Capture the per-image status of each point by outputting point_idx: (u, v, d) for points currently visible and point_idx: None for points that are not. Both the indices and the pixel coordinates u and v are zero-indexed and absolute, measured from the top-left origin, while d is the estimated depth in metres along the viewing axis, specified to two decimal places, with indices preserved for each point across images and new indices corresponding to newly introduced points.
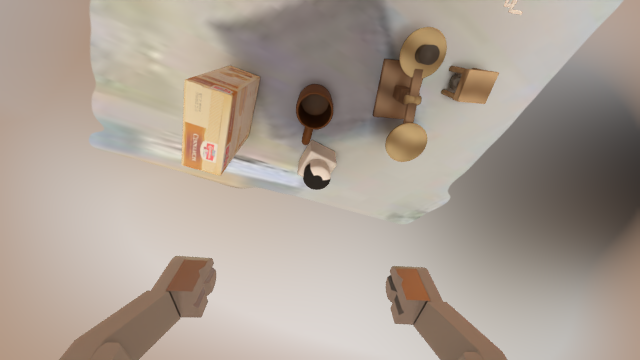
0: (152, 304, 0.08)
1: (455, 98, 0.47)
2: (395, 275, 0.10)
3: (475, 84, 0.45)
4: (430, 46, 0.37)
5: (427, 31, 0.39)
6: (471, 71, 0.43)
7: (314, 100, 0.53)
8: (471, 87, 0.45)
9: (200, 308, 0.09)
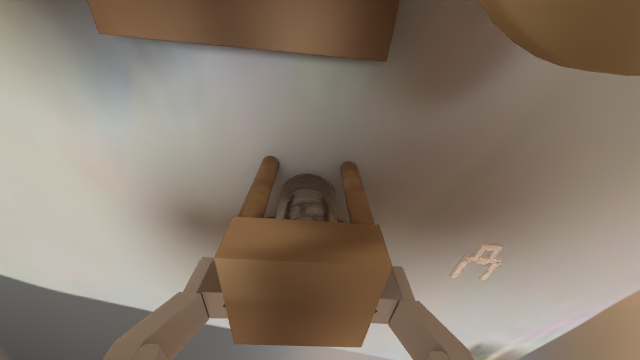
0: (186, 305, 0.08)
1: (235, 233, 0.08)
2: None
3: (313, 302, 0.09)
4: None
5: None
6: (381, 273, 0.08)
7: None
8: (299, 291, 0.08)
9: None
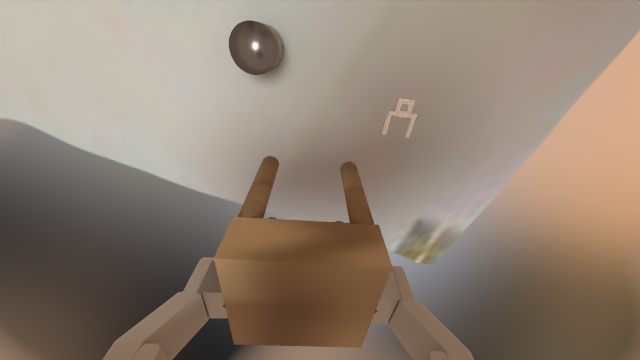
0: (186, 305, 0.08)
1: (235, 234, 0.08)
2: None
3: (313, 303, 0.09)
4: None
5: None
6: (381, 274, 0.08)
7: None
8: (299, 292, 0.08)
9: None
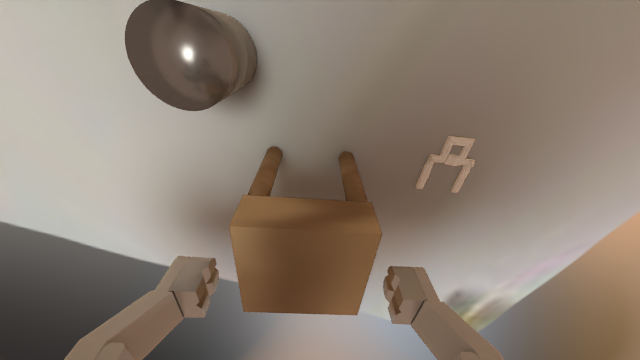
0: (156, 305, 0.08)
1: (245, 208, 0.09)
2: (393, 274, 0.10)
3: (314, 269, 0.10)
4: None
5: None
6: (373, 241, 0.09)
7: None
8: (302, 259, 0.10)
9: (203, 308, 0.09)
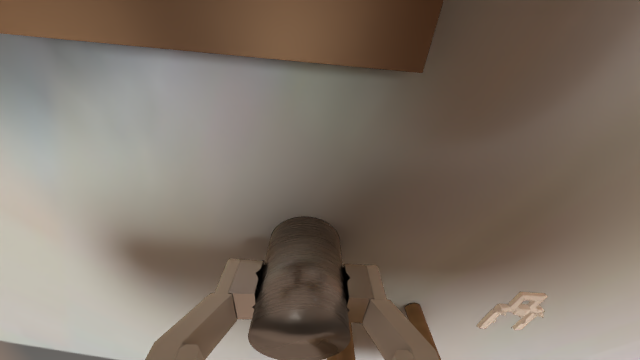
0: (219, 306, 0.08)
1: None
2: (345, 272, 0.10)
3: None
4: None
5: None
6: None
7: None
8: None
9: None
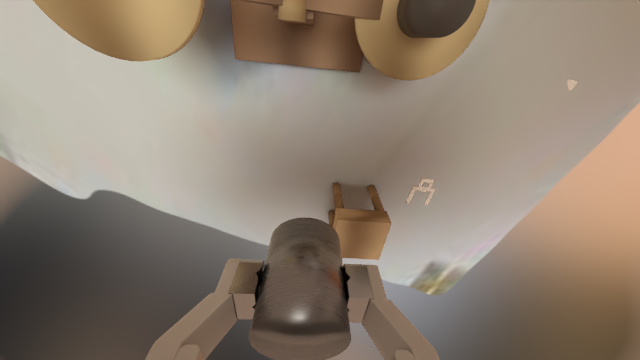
0: (219, 307, 0.08)
1: (339, 213, 0.25)
2: (345, 272, 0.10)
3: (364, 237, 0.25)
4: None
5: (477, 7, 0.14)
6: (387, 226, 0.25)
7: None
8: (360, 232, 0.25)
9: None
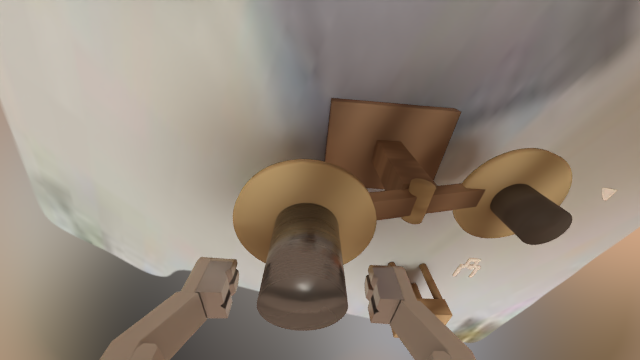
0: (183, 305, 0.08)
1: None
2: (372, 274, 0.10)
3: None
4: (567, 224, 0.15)
5: (556, 198, 0.17)
6: (449, 317, 0.28)
7: None
8: None
9: (226, 309, 0.09)
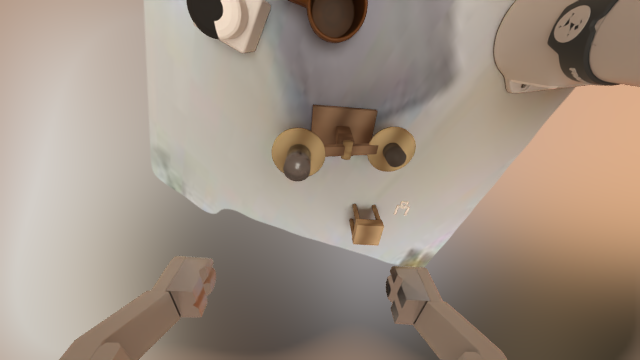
0: (152, 304, 0.08)
1: (358, 221, 0.50)
2: (395, 275, 0.10)
3: (370, 233, 0.50)
4: (405, 157, 0.36)
5: (411, 150, 0.39)
6: (382, 227, 0.49)
7: (334, 12, 0.35)
8: (368, 231, 0.50)
9: (200, 308, 0.09)
